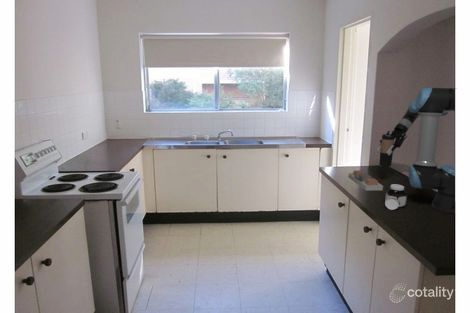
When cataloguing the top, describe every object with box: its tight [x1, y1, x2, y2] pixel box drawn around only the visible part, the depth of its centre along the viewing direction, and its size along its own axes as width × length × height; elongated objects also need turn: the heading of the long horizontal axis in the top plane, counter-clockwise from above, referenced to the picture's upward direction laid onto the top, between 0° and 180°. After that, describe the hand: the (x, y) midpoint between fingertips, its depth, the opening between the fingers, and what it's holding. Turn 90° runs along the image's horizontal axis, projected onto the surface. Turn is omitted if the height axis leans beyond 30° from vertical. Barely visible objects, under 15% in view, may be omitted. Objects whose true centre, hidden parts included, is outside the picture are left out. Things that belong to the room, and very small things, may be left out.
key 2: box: [364, 177, 379, 185], centre depth 219 cm, size 6×6×3 cm
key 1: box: [352, 170, 367, 177], centre depth 236 cm, size 6×6×3 cm
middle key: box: [359, 173, 372, 181], centre depth 228 cm, size 6×6×3 cm
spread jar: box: [384, 183, 408, 211], centre depth 187 cm, size 12×11×12 cm
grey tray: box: [347, 172, 384, 192], centre depth 228 cm, size 28×11×3 cm, turn 4°
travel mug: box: [379, 133, 396, 167], centre depth 224 cm, size 8×8×20 cm
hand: (382, 152), depth 223 cm, fingers closed on travel mug, 7 cm apart
